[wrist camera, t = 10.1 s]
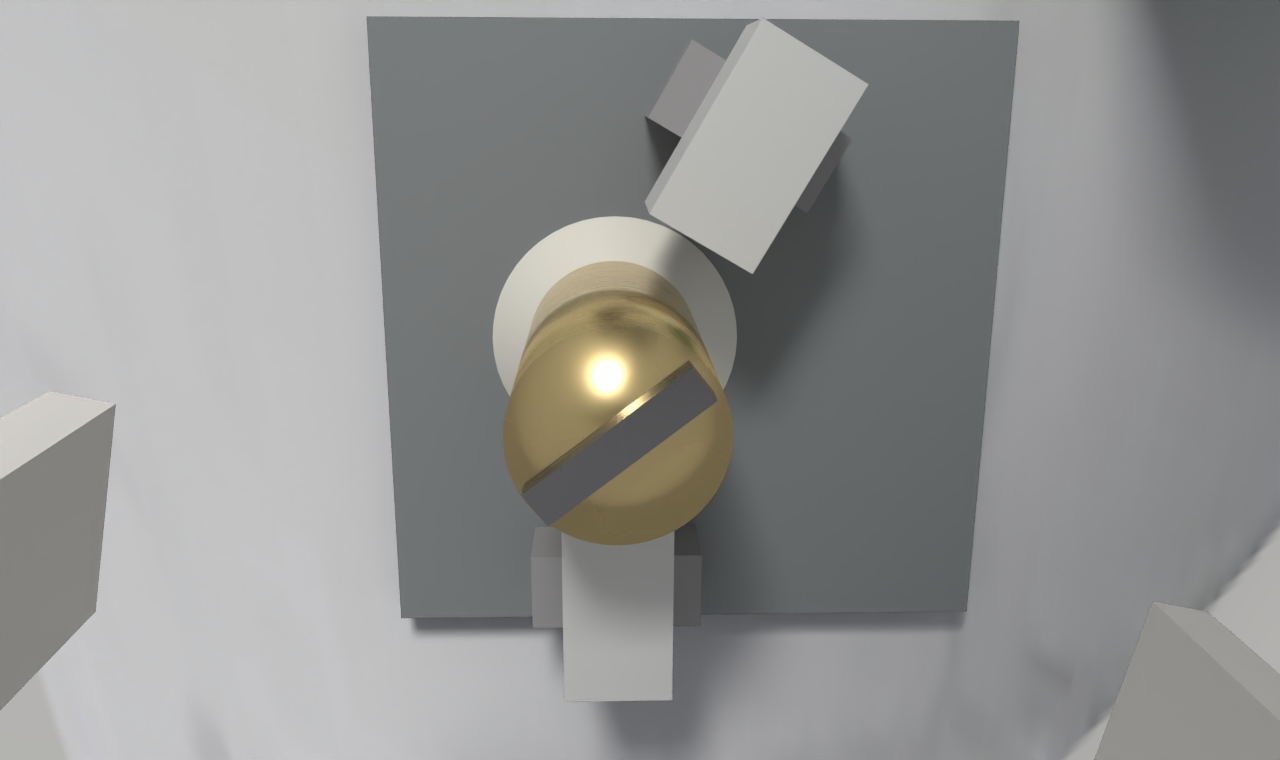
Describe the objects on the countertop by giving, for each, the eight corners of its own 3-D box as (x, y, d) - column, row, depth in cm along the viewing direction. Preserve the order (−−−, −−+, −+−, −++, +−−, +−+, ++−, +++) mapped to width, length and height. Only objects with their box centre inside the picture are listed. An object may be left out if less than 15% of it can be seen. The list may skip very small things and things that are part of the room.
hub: (628, 225, 28) (640, 284, 19) (730, 357, 29) (783, 466, 20) (494, 330, 28) (451, 430, 20) (599, 456, 29) (599, 601, 21)
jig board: (374, 19, 27) (318, 1, 22) (1004, 23, 28) (1103, 6, 22) (407, 601, 31) (367, 708, 26) (955, 595, 32) (1027, 698, 26)
